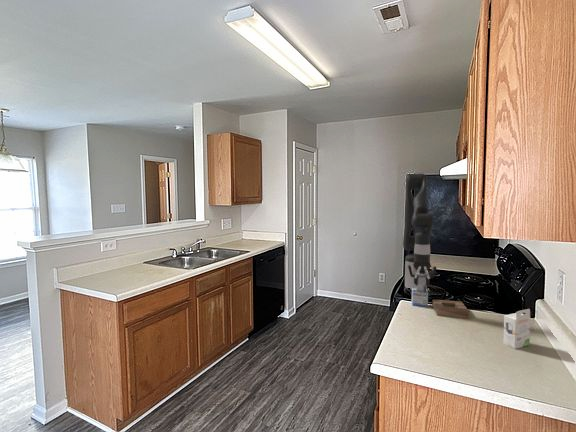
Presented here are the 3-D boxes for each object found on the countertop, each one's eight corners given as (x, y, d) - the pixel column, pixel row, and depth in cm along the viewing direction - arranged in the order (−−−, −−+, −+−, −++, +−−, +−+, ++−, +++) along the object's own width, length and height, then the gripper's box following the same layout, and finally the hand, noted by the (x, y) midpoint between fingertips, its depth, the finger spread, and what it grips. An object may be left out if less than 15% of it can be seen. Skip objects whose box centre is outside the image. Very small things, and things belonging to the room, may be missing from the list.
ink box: (517, 340, 131) (518, 304, 130) (530, 345, 126) (531, 308, 125) (502, 343, 127) (503, 307, 126) (515, 349, 123) (516, 311, 122)
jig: (432, 305, 171) (432, 299, 171) (461, 308, 167) (461, 301, 167) (437, 315, 158) (437, 308, 157) (468, 318, 154) (468, 310, 154)
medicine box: (412, 305, 172) (412, 289, 171) (411, 303, 176) (411, 287, 176) (427, 307, 170) (428, 291, 169) (426, 304, 174) (427, 288, 173)
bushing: (414, 289, 169) (415, 270, 168) (426, 290, 167) (427, 271, 166) (416, 292, 163) (416, 273, 162) (428, 293, 162) (428, 274, 161)
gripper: (436, 251, 165) (435, 284, 167) (406, 250, 169) (406, 282, 171) (438, 254, 158) (438, 288, 159) (408, 253, 162) (407, 286, 163)
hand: (421, 285), depth 165 cm, fingers closed on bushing, 4 cm apart
